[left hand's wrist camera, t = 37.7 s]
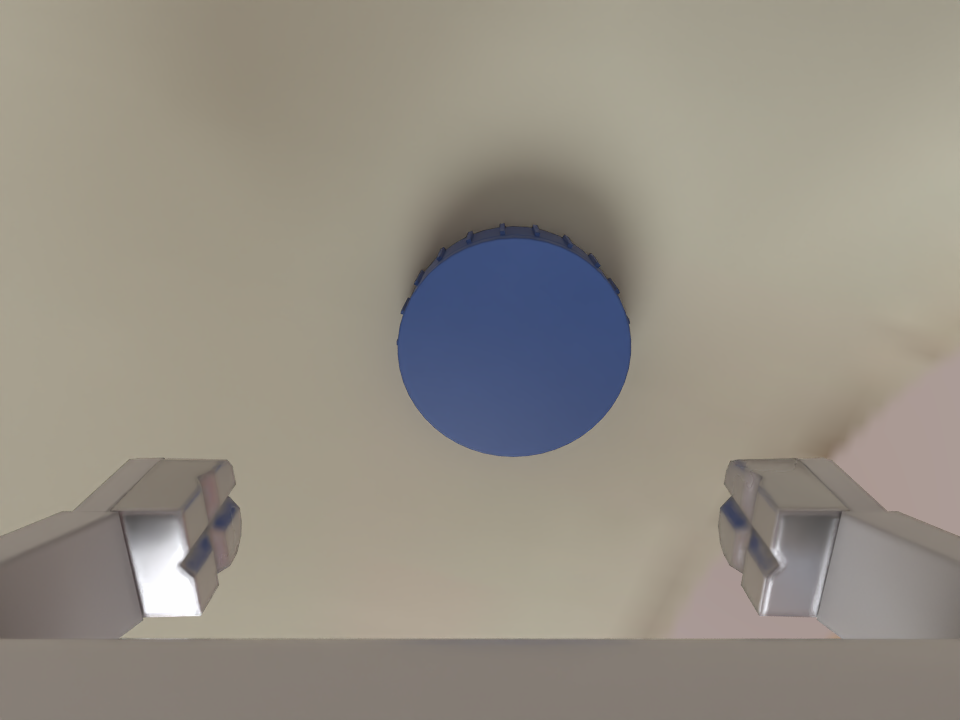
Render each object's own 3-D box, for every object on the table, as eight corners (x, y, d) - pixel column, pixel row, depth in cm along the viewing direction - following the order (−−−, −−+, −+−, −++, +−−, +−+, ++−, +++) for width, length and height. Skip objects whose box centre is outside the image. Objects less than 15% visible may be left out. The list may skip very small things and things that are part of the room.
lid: (361, 295, 15) (347, 314, 14) (557, 178, 14) (564, 184, 12) (473, 462, 17) (471, 495, 15) (658, 368, 15) (675, 394, 14)
